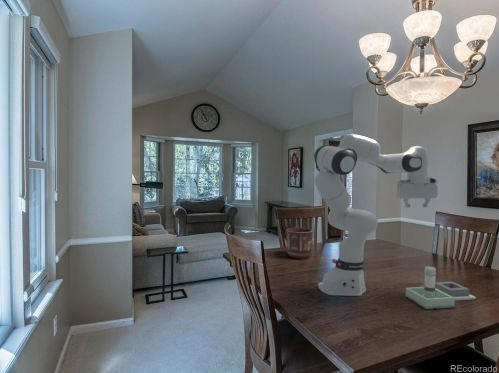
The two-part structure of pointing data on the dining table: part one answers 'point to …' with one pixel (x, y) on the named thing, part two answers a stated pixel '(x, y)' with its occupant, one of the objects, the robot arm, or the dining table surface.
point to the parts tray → (438, 302)
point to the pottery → (299, 242)
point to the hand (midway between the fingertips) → (416, 207)
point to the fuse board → (454, 290)
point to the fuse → (429, 282)
